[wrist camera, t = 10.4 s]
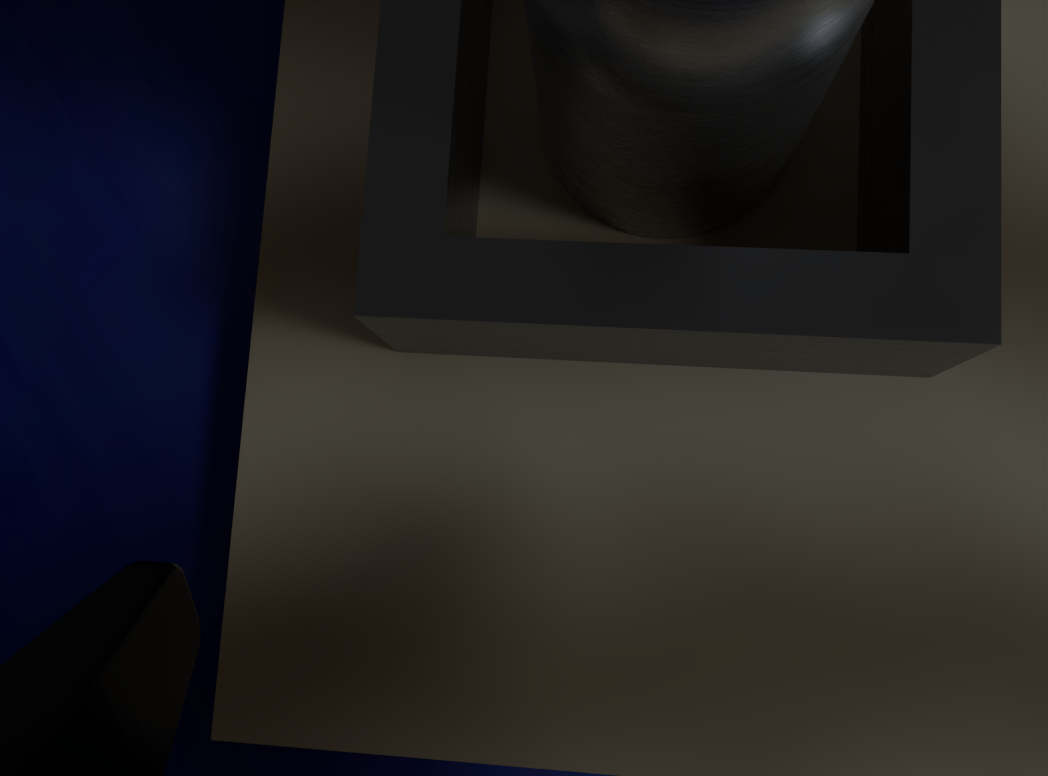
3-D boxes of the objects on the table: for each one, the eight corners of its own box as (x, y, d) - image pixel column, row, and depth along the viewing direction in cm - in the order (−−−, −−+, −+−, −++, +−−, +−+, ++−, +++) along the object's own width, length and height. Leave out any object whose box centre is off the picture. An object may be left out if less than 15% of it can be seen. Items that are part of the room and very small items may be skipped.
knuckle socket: (930, 377, 16) (1001, 345, 13) (398, 352, 17) (353, 314, 14) (934, -123, 17) (1000, -255, 14) (436, -124, 18) (402, -250, 15)
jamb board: (1910, 870, 15) (2002, 895, 14) (233, 728, 17) (210, 740, 16) (1797, -115, 17) (1870, -154, 16) (316, -120, 20) (300, -154, 19)
